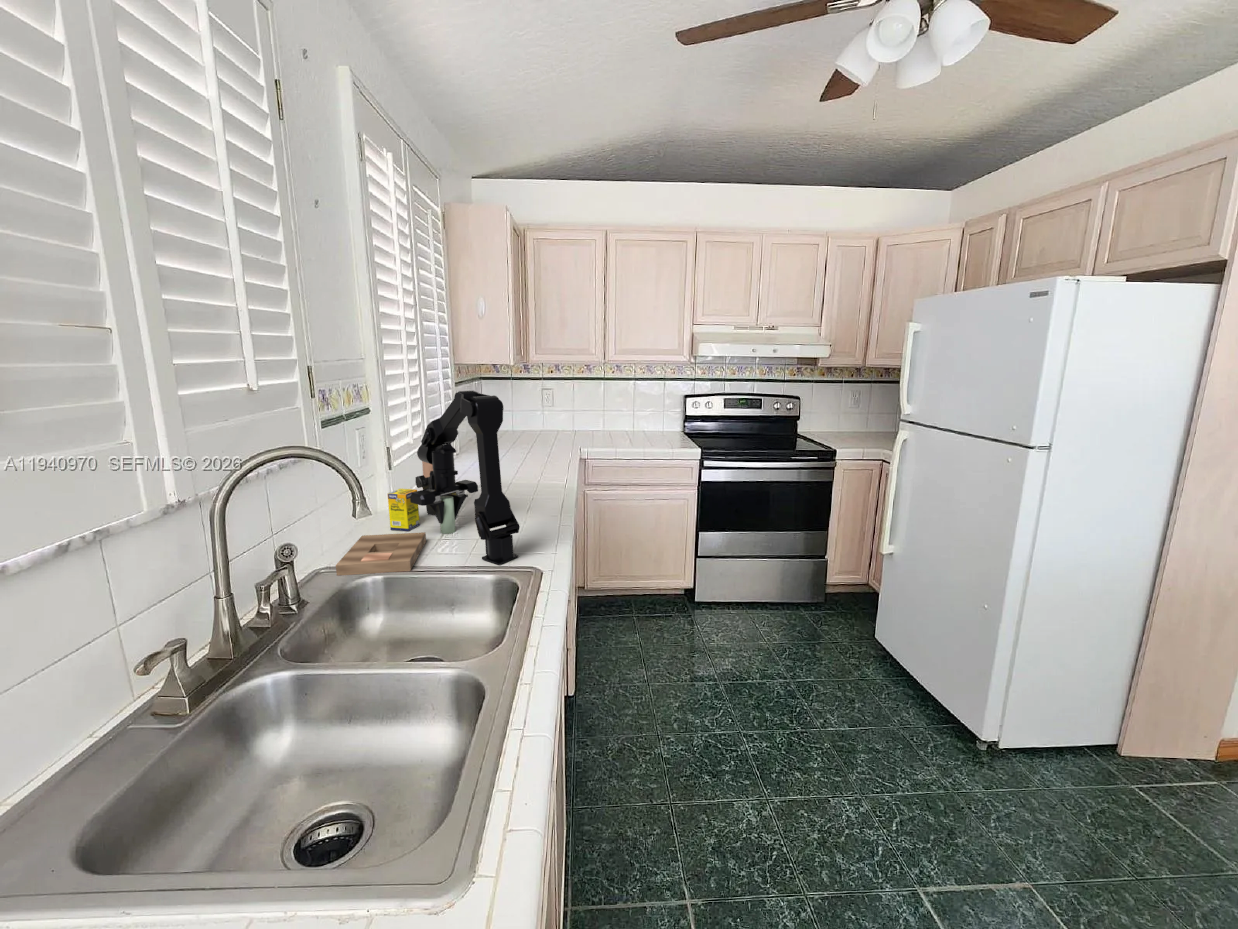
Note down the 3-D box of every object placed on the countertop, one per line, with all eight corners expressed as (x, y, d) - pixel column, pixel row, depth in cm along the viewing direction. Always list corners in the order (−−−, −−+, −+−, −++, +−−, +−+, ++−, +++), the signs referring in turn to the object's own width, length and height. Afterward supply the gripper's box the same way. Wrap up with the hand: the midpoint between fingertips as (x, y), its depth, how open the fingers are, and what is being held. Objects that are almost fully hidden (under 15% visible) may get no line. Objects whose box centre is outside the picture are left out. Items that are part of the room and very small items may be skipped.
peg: (458, 531, 151) (456, 497, 149) (446, 535, 148) (444, 500, 146) (449, 528, 153) (447, 495, 151) (437, 532, 150) (435, 498, 148)
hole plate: (363, 544, 140) (362, 534, 140) (426, 541, 143) (425, 531, 142) (336, 575, 121) (335, 564, 121) (410, 571, 124) (409, 560, 123)
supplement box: (408, 531, 150) (405, 494, 148) (389, 530, 152) (386, 493, 149) (420, 525, 156) (417, 489, 154) (402, 523, 157) (399, 488, 155)
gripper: (453, 458, 158) (456, 508, 162) (396, 469, 144) (400, 524, 147) (477, 463, 152) (480, 515, 155) (420, 475, 137) (425, 532, 141)
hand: (447, 521), depth 150 cm, fingers closed on peg, 4 cm apart
